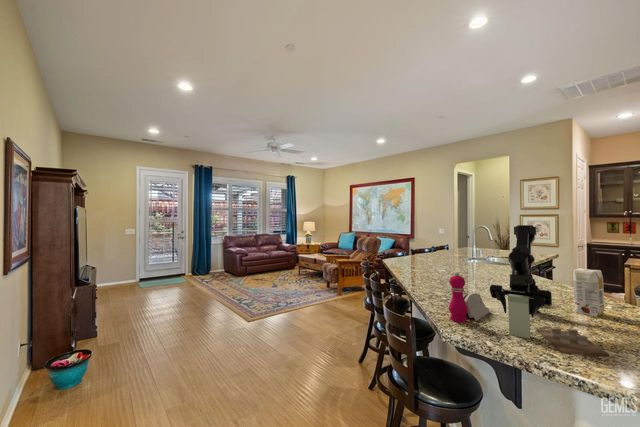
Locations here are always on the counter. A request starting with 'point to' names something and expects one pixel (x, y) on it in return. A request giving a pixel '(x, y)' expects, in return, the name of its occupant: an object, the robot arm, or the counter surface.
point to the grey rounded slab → (475, 306)
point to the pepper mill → (457, 299)
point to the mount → (571, 342)
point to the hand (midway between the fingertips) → (518, 314)
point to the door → (519, 315)
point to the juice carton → (588, 292)
